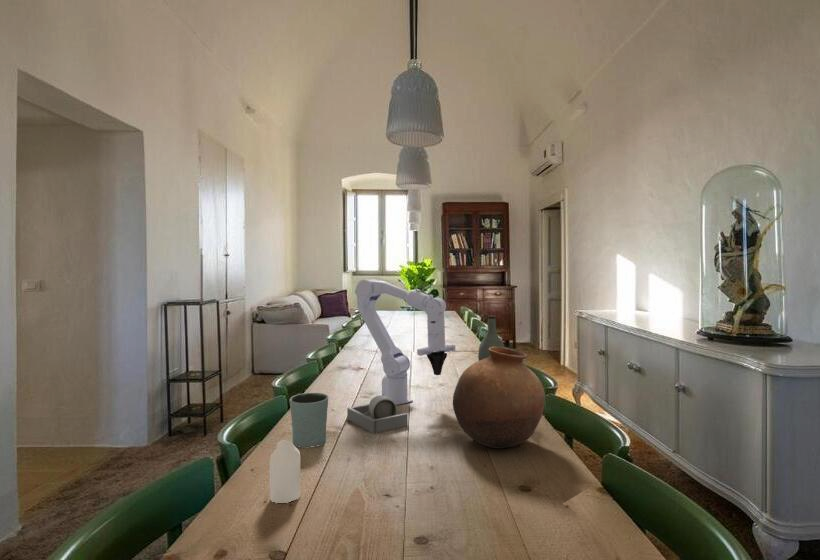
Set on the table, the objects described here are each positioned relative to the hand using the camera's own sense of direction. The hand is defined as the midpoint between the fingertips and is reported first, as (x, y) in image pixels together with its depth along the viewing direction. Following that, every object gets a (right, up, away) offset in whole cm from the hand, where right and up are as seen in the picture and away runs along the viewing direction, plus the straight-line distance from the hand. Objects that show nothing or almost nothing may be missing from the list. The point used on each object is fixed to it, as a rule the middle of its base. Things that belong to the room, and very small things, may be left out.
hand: (437, 374), depth 161 cm
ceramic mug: (-19, -11, -16) cm, 27 cm away
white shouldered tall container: (-34, -12, -64) cm, 74 cm away
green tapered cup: (-36, -12, -33) cm, 50 cm away
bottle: (+18, -10, 0) cm, 21 cm away
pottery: (+14, -11, -36) cm, 40 cm away
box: (-19, -11, -17) cm, 28 cm away
